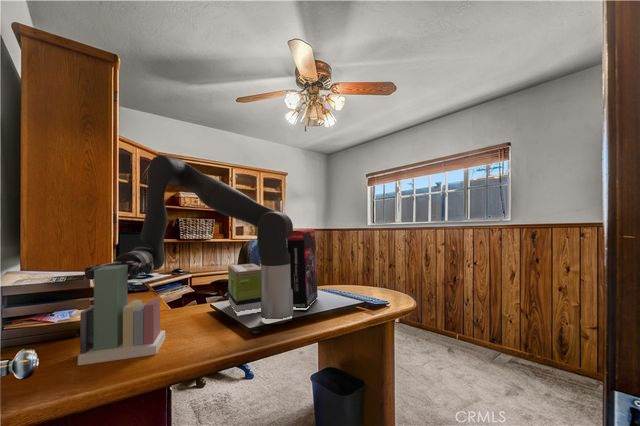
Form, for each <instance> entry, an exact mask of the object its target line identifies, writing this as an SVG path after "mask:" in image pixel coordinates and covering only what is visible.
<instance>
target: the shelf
mask: <svg viewBox="0 0 640 426" xmlns="http://www.w3.org/2000/svg"><path fill="white" fill-rule="evenodd" d="M142 301H143V299H133V300H131V301H129V303H128V304H127V305H126V306H125V307H124V308H123V342H122V343H121V344H120V345H119V346H118V348H113V349H105V350H97V351H94V346H93V347H92V348H91V349H90V350H89V351H88V352H87V353H85V354H80V353H79V355H77V366H82V365H91V364H98V363H105V362H113V361H118V360H126V359H131V358H133V359H134V358H140V357H148V356H153V355H154V356H155V355H157V354H158V352H159V350H160V348H161V347H162V345H163V343H164V341H165V340H166V330H161V297H155V298H154V297H153V298H150V299H149V300H148V301H147V302H142Z"/></svg>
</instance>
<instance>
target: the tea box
mask: <svg viewBox="0 0 640 426" xmlns="http://www.w3.org/2000/svg"><path fill="white" fill-rule="evenodd" d="M227 269H228V270H227V274H228V275H227V276H228V304H229V303H230V304H231V306H232V307H233V308H234V310H235V311H236V312H240V311H245V310H252V309H259V308H261V272H260V265H257V264H255V263H245V264H243V263H242V264H235V265H228V266H227Z"/></svg>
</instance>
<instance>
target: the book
mask: <svg viewBox="0 0 640 426" xmlns="http://www.w3.org/2000/svg"><path fill="white" fill-rule="evenodd" d="M128 281H129V280H128V265H115V266H105V267H102V268H99V269H96V270H94V279H93V305H94V351H97V350H105V349H113V348H118V346H119V345H120V344H121V343H122V342H123V308H124V307H125V306H126V305H127V304H129V303H128V298H129V297H128V293H129V292H128V290H129V289H128V287H129V286H128V285H129V283H128Z"/></svg>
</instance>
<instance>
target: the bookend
mask: <svg viewBox="0 0 640 426" xmlns="http://www.w3.org/2000/svg"><path fill="white" fill-rule="evenodd" d="M79 314H80V319H79V320H80V323H79V324H80V328H79V329H80V331H79V333H80V335H79V336H80V337H79V339H80V340H79V341H80V343H79V345H80V347H79V350H80V353H79V355H80V354H85V353H87V352H88V351H89V350H90V349H91V348H92V347H93V346H94V304H92V305H91V306H89V307H87V308H85V309H83V310H82V311H81V312H80V313H79Z"/></svg>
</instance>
